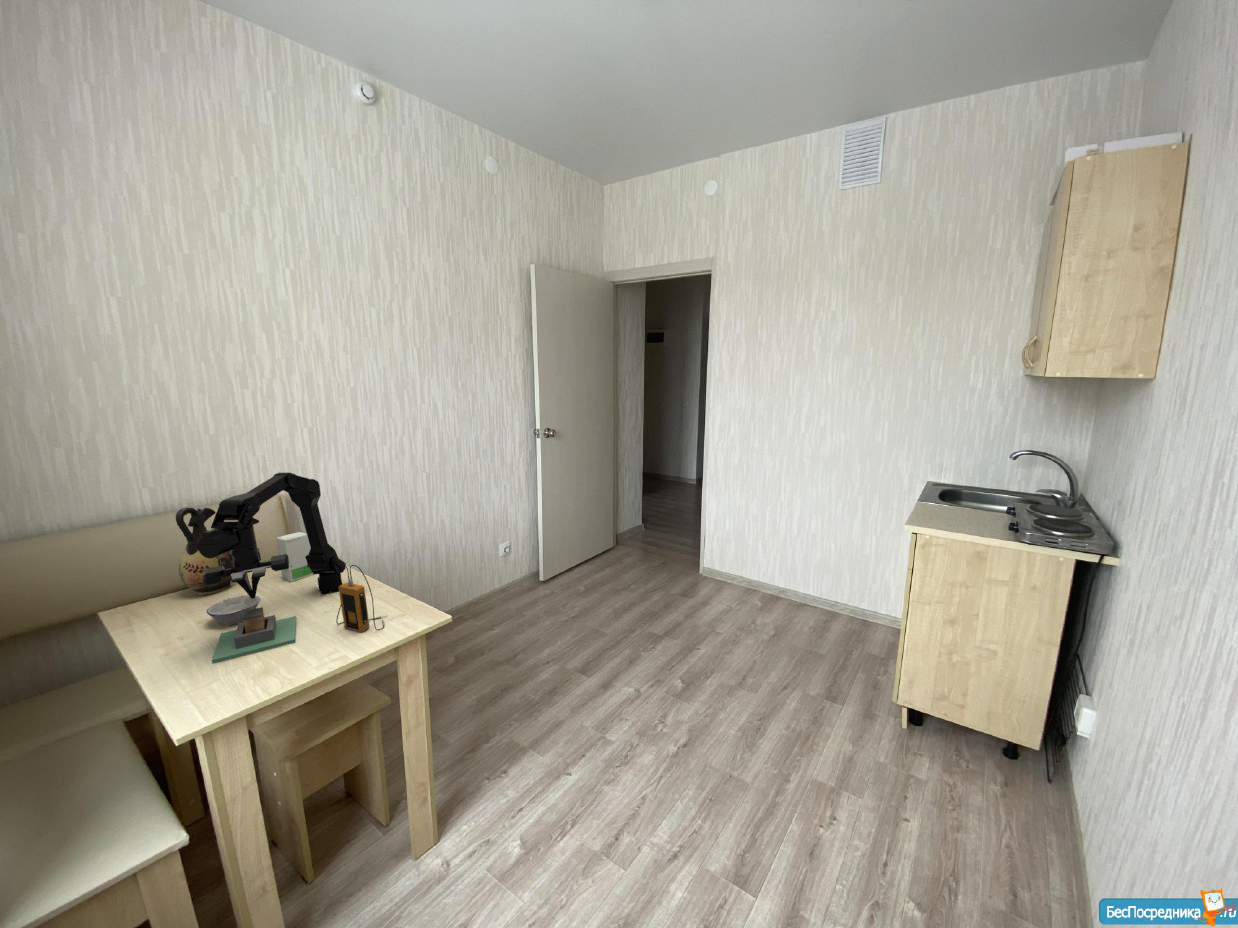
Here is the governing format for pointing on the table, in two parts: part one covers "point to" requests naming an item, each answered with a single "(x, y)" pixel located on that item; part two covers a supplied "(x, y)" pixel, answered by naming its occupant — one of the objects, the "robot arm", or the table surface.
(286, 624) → the board
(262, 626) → the plug
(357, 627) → the multimeter
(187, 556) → the ceramic jug
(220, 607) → the bowl
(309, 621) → the table surface
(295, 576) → the skincare box
